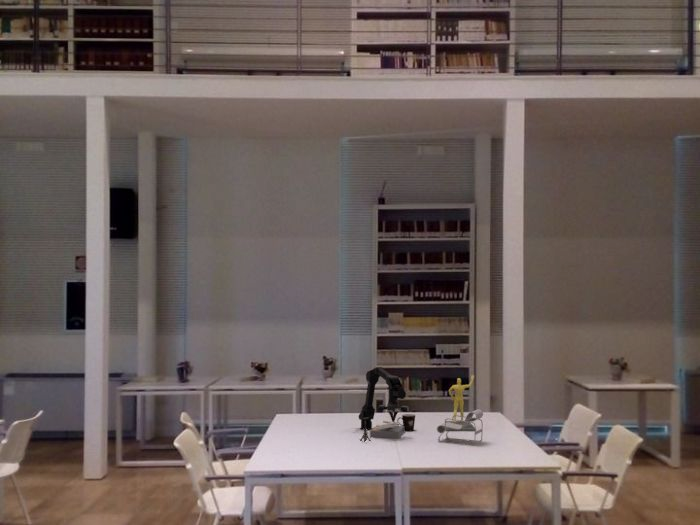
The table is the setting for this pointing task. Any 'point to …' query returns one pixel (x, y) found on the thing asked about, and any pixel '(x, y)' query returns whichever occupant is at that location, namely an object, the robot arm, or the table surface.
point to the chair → (456, 426)
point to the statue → (460, 402)
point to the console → (387, 432)
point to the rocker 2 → (387, 426)
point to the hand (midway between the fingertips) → (393, 422)
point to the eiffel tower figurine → (365, 434)
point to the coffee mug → (408, 421)
